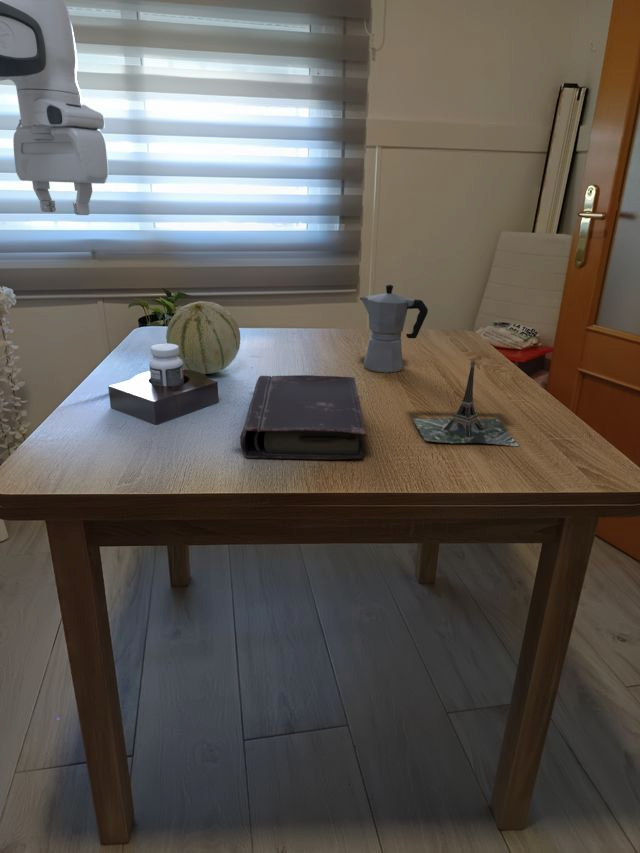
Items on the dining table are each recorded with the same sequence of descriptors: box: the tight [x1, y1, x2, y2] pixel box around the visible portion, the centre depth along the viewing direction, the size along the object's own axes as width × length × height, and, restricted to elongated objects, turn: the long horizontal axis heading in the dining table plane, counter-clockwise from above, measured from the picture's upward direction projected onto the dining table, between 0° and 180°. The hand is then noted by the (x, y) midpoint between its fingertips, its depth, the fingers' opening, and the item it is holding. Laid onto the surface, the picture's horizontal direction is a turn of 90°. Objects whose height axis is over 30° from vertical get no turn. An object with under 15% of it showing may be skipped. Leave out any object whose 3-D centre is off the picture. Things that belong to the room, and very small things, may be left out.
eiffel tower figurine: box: [412, 354, 520, 447], centre depth 91 cm, size 15×10×13 cm
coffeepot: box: [359, 284, 429, 374], centre depth 123 cm, size 15×9×18 cm, turn 61°
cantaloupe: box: [165, 300, 241, 375], centre depth 116 cm, size 15×15×15 cm
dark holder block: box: [107, 369, 219, 426], centre depth 101 cm, size 16×14×4 cm
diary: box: [239, 374, 367, 461], centre depth 93 cm, size 19×25×5 cm
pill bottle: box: [148, 342, 184, 386], centre depth 101 cm, size 6×6×10 cm
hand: (65, 213), depth 92 cm, fingers open, 8 cm apart
